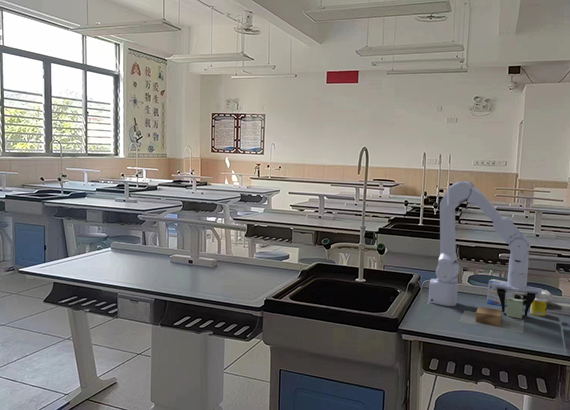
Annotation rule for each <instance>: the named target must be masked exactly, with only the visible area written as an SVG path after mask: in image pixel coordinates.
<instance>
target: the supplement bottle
mask: <svg viewBox="0 0 570 410" xmlns="http://www.w3.org/2000/svg"><path fill="white" fill-rule="evenodd" d="M546 297H547V293H545V292H541V296H539V295H536V297H535V299H534V301H533V302H532V304H531V306H530V308H529V310H530V311H529V314H530V315H532V316H536V317H546V316H547V310H548V309H547V308H548V303H547V299H546Z"/></svg>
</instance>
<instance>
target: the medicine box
mask: <svg viewBox="0 0 570 410" xmlns="http://www.w3.org/2000/svg"><path fill="white" fill-rule="evenodd" d="M493 282H496V283H507V281H505V280H500V279H495V278H493V279H489V280H488V287H487V298H486V303H487V304H488V305H492V306H497V307H502V306H501V302H500V299H499V296H498V294H497V289H492V283H493ZM514 295H515V292H514V291H507V290H506V293H505V308H507V303H508V298H513V299H514Z"/></svg>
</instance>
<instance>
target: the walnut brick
mask: <svg viewBox="0 0 570 410" xmlns="http://www.w3.org/2000/svg"><path fill="white" fill-rule="evenodd" d="M475 312H476V322H480V323H486V324H492V325H498V326H500V323H501V317H503V316H502V315H503V312H502V309H496V308H489V307H484V306H478V307H477V310H476V311H475Z"/></svg>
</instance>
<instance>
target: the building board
mask: <svg viewBox="0 0 570 410" xmlns="http://www.w3.org/2000/svg"><path fill="white" fill-rule="evenodd" d="M476 312H477V311H475V312H474V311H469V310H463V313H462V315H461V317H460V319H459V321H458V323H459V324H466V325H471V326H477V327H483V328H489V329H494V330H495V329H496V330H501V331H506V332H512V333H518V334H524V326H525V319H521V318H515V317H508V316H502V317H501V323H500V326H498V325H492V324H486V323H480V322H476Z"/></svg>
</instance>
